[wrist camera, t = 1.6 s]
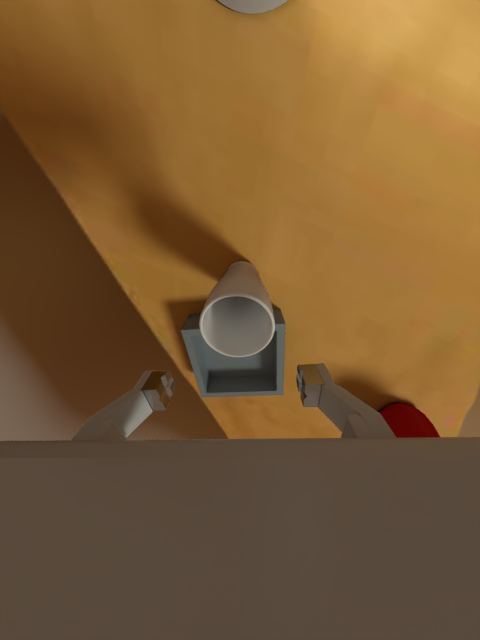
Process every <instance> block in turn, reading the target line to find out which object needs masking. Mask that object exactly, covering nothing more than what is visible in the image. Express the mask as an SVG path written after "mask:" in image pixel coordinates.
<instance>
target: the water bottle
mask: <svg viewBox="0 0 480 640" xmlns="http://www.w3.org/2000/svg"><path fill="white" fill-rule="evenodd" d="M379 413H380V414H381V415H382V417H383V418H384V420H385V421H386V423H387V424H388V426H389V427H390V429H391V430H392V432H393V433H394V435H395V436H396V437H397V438H424V437H440V436H439V434H438V432H437V431H436V429H435V427H434V426H433V424H432V423H431V422H430V420H429V419H428V418H427V417H426V416H425V414H423V413H422V412H421V411H419V410H418V409H417V408H415V407H411V406H409V405H407V404H402V403H395V404H390V405H388V406H387V407H385V408H384V409H383V410H382V411H380V412H379Z"/></svg>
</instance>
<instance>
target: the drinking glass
mask: <svg viewBox="0 0 480 640" xmlns="http://www.w3.org/2000/svg"><path fill="white" fill-rule="evenodd" d="M199 327H200V332H201V335H202V337H203V339H204V340H205V342H206V343H207V344H208V345H209V346H210V347H211V348H212V349H214V350H215V351H217V352H219V353H221V354H223V355H226V356H231V357H246V356H250V355H253V354H256V353H258V352H259V351H261V350H262V349H264V348H265V347H266V346H267V345H268V344H269V342H270V341H271V339H272V337H273V335H274V331H275V320H274V313H273V308H272V304H271V301H270V298H269V295H268V293H267V291H266V289H265V287H264V285H263V283H262V281H261V279H260V276H259V273H258V270H257V269H256V267H255V266H254V265H253V264H251V263H249V262H246V261H238V262H235V263H233V264H232V265H230V266H229V267H228V269H227V271H226V273H225V274H224V275H223V277H222V278H221V279H220V280H219V281H218V283H217V284H216V285H215V287H214V288H213V289H212V291H211V293H210V294H209V296H208V298H207V300H206V302H205V305H204V307H203V310H202V313H201V315H200V320H199Z"/></svg>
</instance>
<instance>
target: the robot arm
mask: <svg viewBox="0 0 480 640" xmlns="http://www.w3.org/2000/svg"><path fill="white" fill-rule="evenodd" d="M218 1H219V2H220V3H222V4H223V5H225V6H226V7H228V8H230V9H232V10H235V11H238V12H242V13H248V14H257V13H263V12H267V11H270V10H272V9H275V8H276V7H278V6H280V5H282V4H283V3H285V2H286V1H288V0H218ZM297 371H298V374H297V387H298V391H300V392H301V395H300V397H301V401H302V404H303V407H318V408H319V409H320V410H321V411H322V412H323V413H324V414H325V415H326V416H327V417H328V418H329V419H330V420H331V421H332V422H333V423H334V424H335V425H336V426H337V427H338V428H339V429H340V431H341V432H342V435H341V438H299V439H193V440H192V439H189V440H188V439H183V440H180V439H179V440H127V437H128V436H129V434H131V433H132V431H134V430H135V429H136V428H137V427H138V425H140V424H141V423H142V422H143V421H144V420H145V419H146V418H147V417H148V416H149V415H150V414H151V413H152V412H153V411H156V410H166V408H167V406H168V404H169V402H170V399H169V397H170V396H171V395H172V394H173V392H174V389H175V382H174V380H173V379H172V378H171V372H170V371H169V370H157V371H146V372H144V374H143V375H142V377H141V378H140V380H139V381H138V382H137V384H136V385H135V387H134V388H133V390H132V391H129V392H128V393H126V394H124V395H123V396H121V397H120V398H119V399H117V400H115V401H114V402H112V403H111V404H109V405H108V406H107V407H105V408H104V409H102V410H101V411H99V412H98V413H96V414H95V415H93V416H92V417H90V418H89V419H88V420H87V421H86V422H85V424H84V425H83V426H82V427H81V429H80V430H79V431H78V432H77V434H76V435H75V436H74V437H73V439H72V440H62V441H61V440H59V441H58V440H56V441H54V440H53V441H0V640H480V437H424V438H397V437H396V436H395V435H394V433H393V432H392V430H391V429H390V427H389V426H388V424H387V423H386V421H385V420H384V418H383V417H382V415H381V414H380V413H379V412H377V411H376V410H374V409H373V408H372V407H370V406H369V405H367V404H366V403H364V402H363V401H361V400H360V399H358V398H357V397H355V396H354V395H353V394H351V393H350V392H348V391H347V390H345V389H344V388H342V387H341V386H339V385H338V384H335V383H334V381H333V379H332V378H331V376H330V374H329V372H328V370H327V368H326V366H325V365H324V364H323V363H322V364H305V365H298V366H297Z"/></svg>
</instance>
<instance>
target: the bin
mask: <svg viewBox="0 0 480 640" xmlns="http://www.w3.org/2000/svg"><path fill="white" fill-rule="evenodd" d="M273 313H274V320H275V331H274V335H273V337H272V339H271V341H270V342H269V344H268V345H267V346H266V347H265V348H264V349H262V350H261V351H259V352H258V353H256V354H253V355H250V356H246V357H231V356H226V355H223V354H221V353H219V352H217V351H215V350H214V349H212V348H211V347H210V346H209V345H208V344H207V343H206V342H205V340H204V339H203V337H202V335H201V332H200V327H199V320H200V315H201V314H195V315H189V317H188V319H187V320H186V322H185V324H184V325H183V327H182V329H181V333H182V336H183V339H184V342H185V346H186V349H187V352H188V355H189V358H190V362H191V365H192V368H193V371H194V374H195V378H196V381H197V384H198V387H199V390H200V394H201V397H226V396H262V395H283V382H284V349H285V321H284V319H283V316H282V313H281V310H280V309H273Z"/></svg>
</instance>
